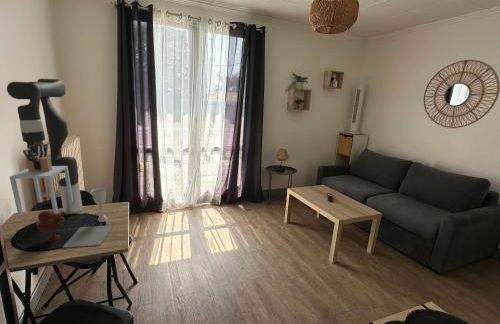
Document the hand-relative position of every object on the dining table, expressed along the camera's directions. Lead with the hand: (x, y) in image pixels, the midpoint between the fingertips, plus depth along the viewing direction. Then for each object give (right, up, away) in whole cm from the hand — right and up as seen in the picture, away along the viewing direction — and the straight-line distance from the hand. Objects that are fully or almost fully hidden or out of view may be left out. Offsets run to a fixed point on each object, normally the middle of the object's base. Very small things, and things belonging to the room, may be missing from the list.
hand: (40, 168), depth 113 cm
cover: (-1, -18, +5) cm, 19 cm away
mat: (+15, -34, +12) cm, 39 cm away
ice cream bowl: (-1, -35, +10) cm, 36 cm away
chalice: (+11, -30, +29) cm, 43 cm away
